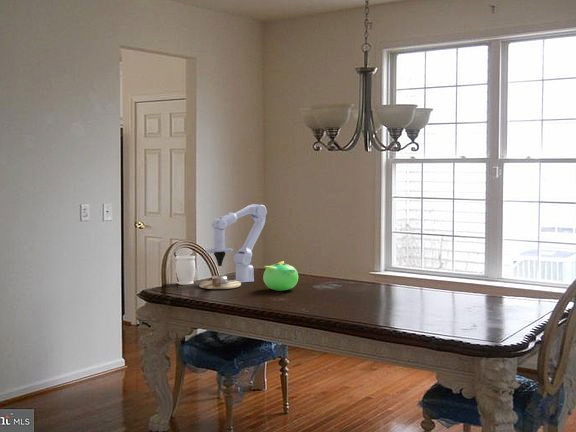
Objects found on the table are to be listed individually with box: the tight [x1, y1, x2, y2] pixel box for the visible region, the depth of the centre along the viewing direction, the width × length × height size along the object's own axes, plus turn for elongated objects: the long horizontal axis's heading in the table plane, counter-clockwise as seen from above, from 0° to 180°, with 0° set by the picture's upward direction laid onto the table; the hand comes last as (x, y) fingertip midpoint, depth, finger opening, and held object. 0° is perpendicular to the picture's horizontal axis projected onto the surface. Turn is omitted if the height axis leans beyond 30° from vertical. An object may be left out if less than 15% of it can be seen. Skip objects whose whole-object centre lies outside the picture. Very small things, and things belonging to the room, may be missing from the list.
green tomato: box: [262, 260, 299, 292], centre depth 367 cm, size 18×17×15 cm
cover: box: [211, 275, 228, 284], centre depth 381 cm, size 8×8×4 cm
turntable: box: [198, 278, 242, 290], centre depth 381 cm, size 22×22×5 cm
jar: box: [175, 254, 196, 286], centre depth 391 cm, size 11×10×15 cm
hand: (219, 265), depth 389 cm, fingers closed
